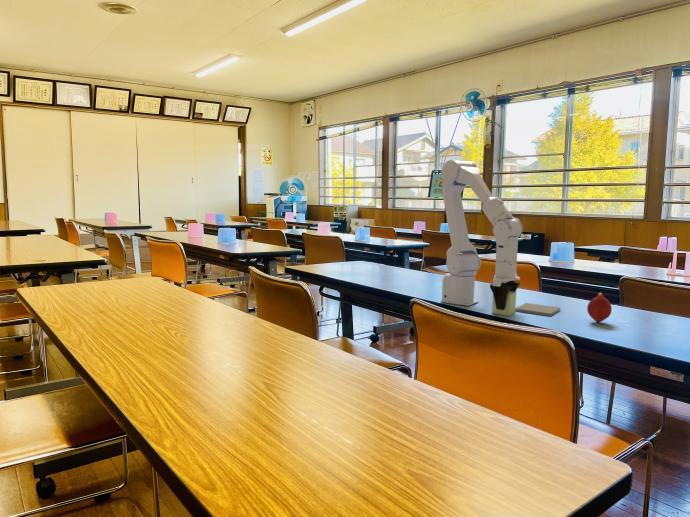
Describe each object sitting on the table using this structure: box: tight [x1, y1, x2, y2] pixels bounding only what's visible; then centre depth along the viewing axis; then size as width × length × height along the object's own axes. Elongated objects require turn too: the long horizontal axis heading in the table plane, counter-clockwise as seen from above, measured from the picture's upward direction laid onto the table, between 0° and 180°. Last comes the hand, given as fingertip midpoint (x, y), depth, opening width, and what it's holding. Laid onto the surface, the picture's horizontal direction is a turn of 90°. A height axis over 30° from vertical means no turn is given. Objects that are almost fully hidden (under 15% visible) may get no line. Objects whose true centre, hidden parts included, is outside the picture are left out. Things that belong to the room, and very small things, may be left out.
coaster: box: [515, 302, 561, 317], centre depth 149 cm, size 10×10×1 cm
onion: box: [586, 292, 613, 323], centre depth 136 cm, size 6×6×8 cm
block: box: [491, 291, 517, 316], centre depth 146 cm, size 5×5×6 cm
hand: (503, 307), depth 146 cm, fingers closed on block, 5 cm apart
